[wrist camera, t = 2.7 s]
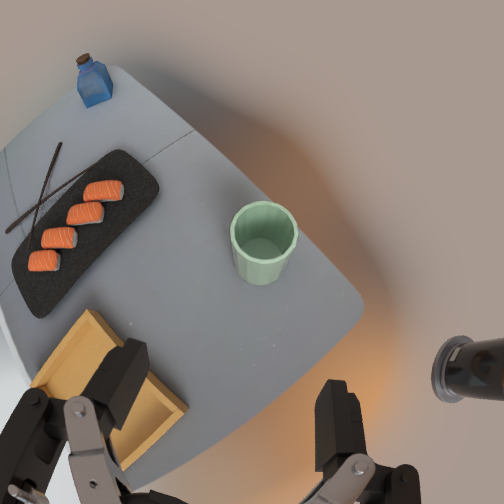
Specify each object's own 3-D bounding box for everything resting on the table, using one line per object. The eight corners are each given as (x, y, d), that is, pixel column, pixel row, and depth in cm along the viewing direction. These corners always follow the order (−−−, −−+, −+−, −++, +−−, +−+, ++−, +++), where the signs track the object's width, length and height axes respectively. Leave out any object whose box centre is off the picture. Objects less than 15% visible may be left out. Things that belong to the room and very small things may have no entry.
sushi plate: (45, 328, 32) (30, 325, 29) (-4, 215, 39) (-15, 208, 35) (170, 194, 40) (163, 180, 36) (88, 119, 46) (81, 107, 42)
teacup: (294, 258, 37) (310, 228, 27) (262, 295, 35) (268, 277, 26) (256, 227, 38) (260, 189, 29) (224, 263, 37) (216, 233, 27)
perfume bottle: (112, 83, 50) (97, 45, 38) (111, 97, 48) (94, 57, 36) (89, 93, 49) (72, 57, 38) (87, 108, 47) (67, 70, 36)
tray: (189, 407, 30) (184, 413, 27) (119, 474, 26) (110, 482, 23) (97, 311, 34) (86, 308, 31) (41, 384, 30) (29, 385, 27)
